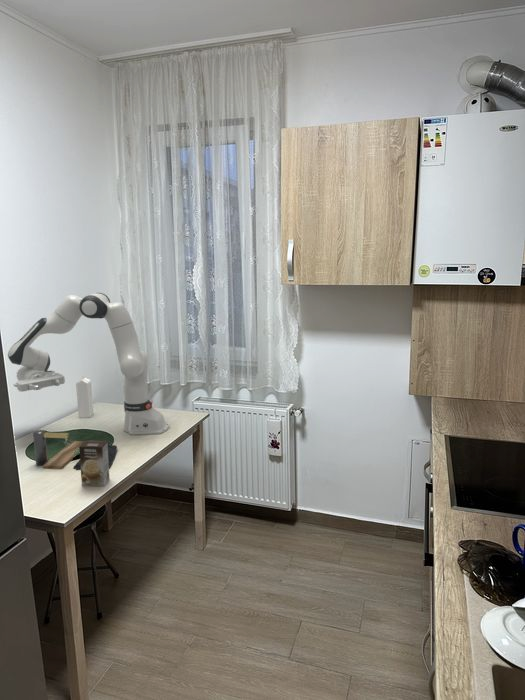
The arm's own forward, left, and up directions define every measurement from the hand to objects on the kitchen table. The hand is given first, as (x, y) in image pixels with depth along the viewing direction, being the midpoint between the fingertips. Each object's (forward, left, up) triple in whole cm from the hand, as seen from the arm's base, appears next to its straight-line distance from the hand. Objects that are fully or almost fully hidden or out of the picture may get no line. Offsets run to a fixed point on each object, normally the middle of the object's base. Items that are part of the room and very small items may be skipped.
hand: (47, 386), depth 221 cm
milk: (+3, -40, -28) cm, 49 cm away
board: (-12, +10, -28) cm, 32 cm away
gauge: (-11, +19, -28) cm, 36 cm away
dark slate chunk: (-27, +13, -29) cm, 42 cm away
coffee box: (-35, +33, -28) cm, 56 cm away
